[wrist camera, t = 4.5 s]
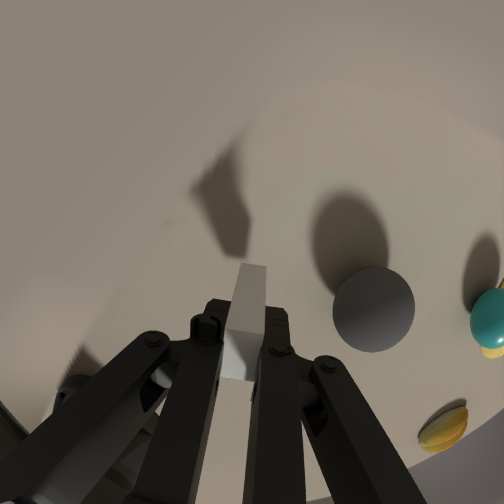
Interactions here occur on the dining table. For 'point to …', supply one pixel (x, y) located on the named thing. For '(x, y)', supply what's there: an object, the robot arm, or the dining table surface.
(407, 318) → the ball
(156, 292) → the dining table surface
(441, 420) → the bread roll
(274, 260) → the dining table surface
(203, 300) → the dining table surface
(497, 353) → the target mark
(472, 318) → the ball
